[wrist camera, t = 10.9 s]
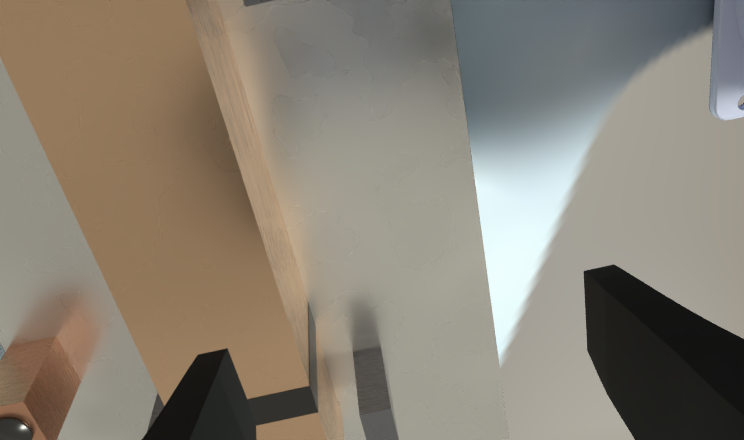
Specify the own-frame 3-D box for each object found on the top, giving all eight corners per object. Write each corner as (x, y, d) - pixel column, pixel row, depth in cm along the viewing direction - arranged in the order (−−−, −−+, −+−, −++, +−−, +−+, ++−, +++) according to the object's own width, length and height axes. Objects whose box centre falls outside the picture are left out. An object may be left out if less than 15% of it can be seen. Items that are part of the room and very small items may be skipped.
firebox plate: (396, -323, 16) (430, -385, 12) (498, 410, 27) (533, 506, 23) (-261, -174, 16) (-452, -184, 12) (117, 492, 28) (85, 602, 23)
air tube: (343, 421, 25) (350, 514, 21) (237, 443, 25) (226, 540, 21) (185, -112, 16) (153, -104, 13) (22, -75, 16) (-55, -57, 13)
